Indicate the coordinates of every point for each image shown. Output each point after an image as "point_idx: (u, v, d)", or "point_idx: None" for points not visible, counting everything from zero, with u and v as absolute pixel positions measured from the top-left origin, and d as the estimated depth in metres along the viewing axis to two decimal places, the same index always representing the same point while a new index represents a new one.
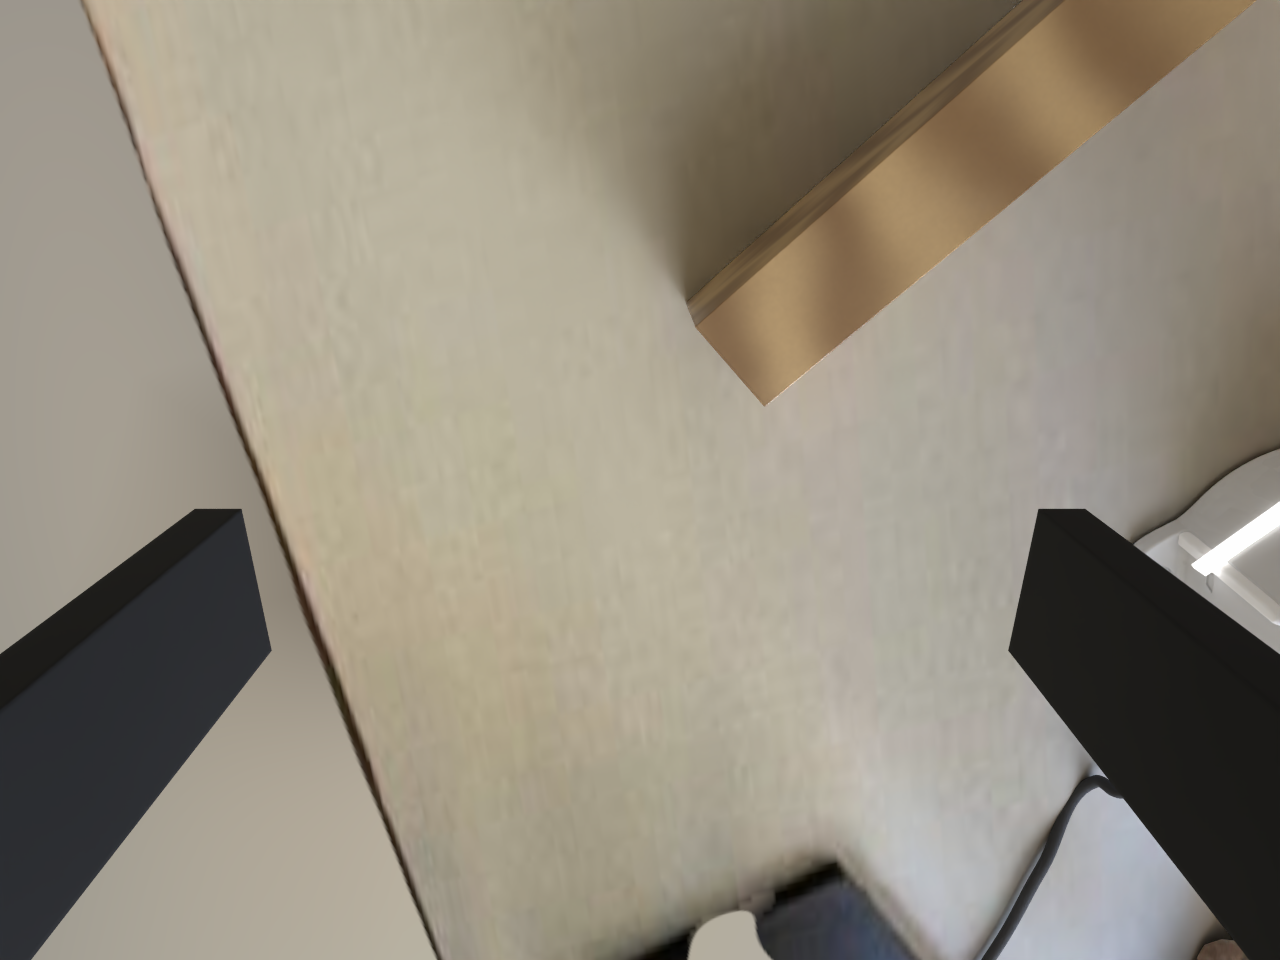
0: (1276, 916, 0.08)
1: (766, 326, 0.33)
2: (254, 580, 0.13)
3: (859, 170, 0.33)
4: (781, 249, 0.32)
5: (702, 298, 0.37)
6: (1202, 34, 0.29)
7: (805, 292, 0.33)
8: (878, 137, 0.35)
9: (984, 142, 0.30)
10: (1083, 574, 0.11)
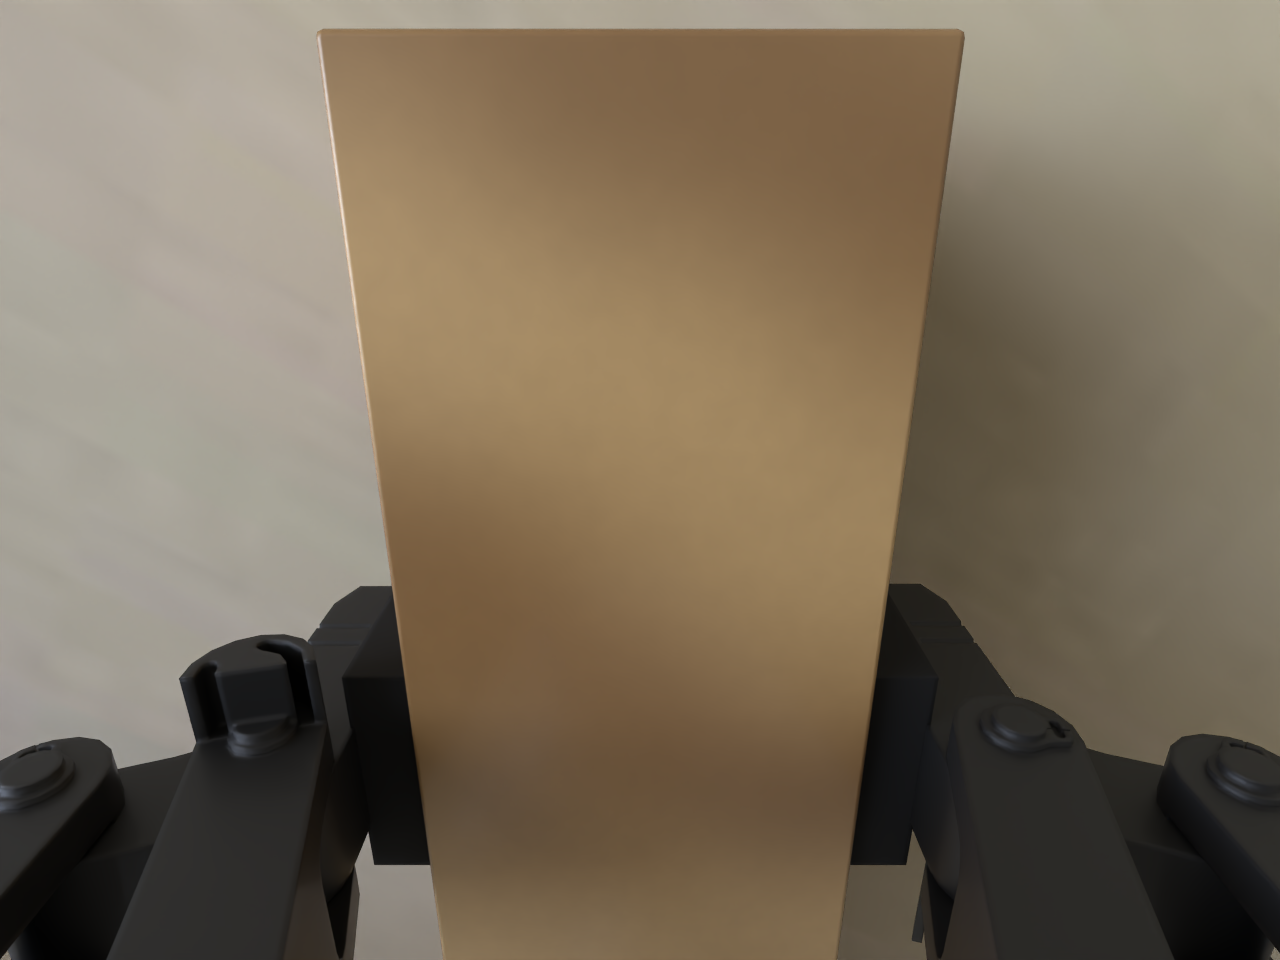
0: None
1: (684, 340, 0.07)
2: None
3: None
4: None
5: None
6: None
7: (681, 560, 0.07)
8: None
9: None
10: None
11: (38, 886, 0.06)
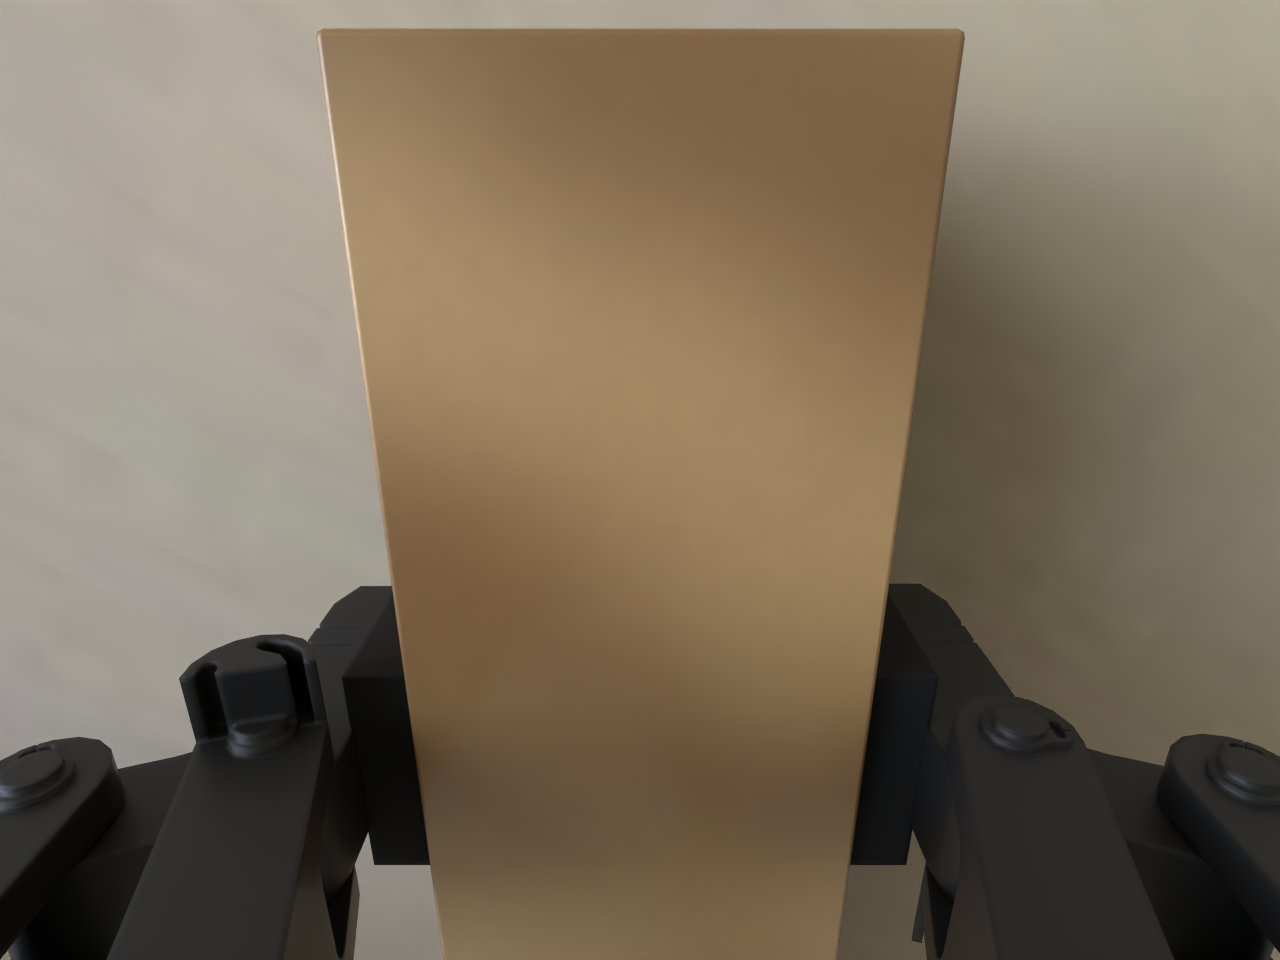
0: None
1: (684, 340, 0.07)
2: None
3: None
4: None
5: None
6: None
7: (681, 560, 0.07)
8: None
9: None
10: None
11: (38, 886, 0.06)
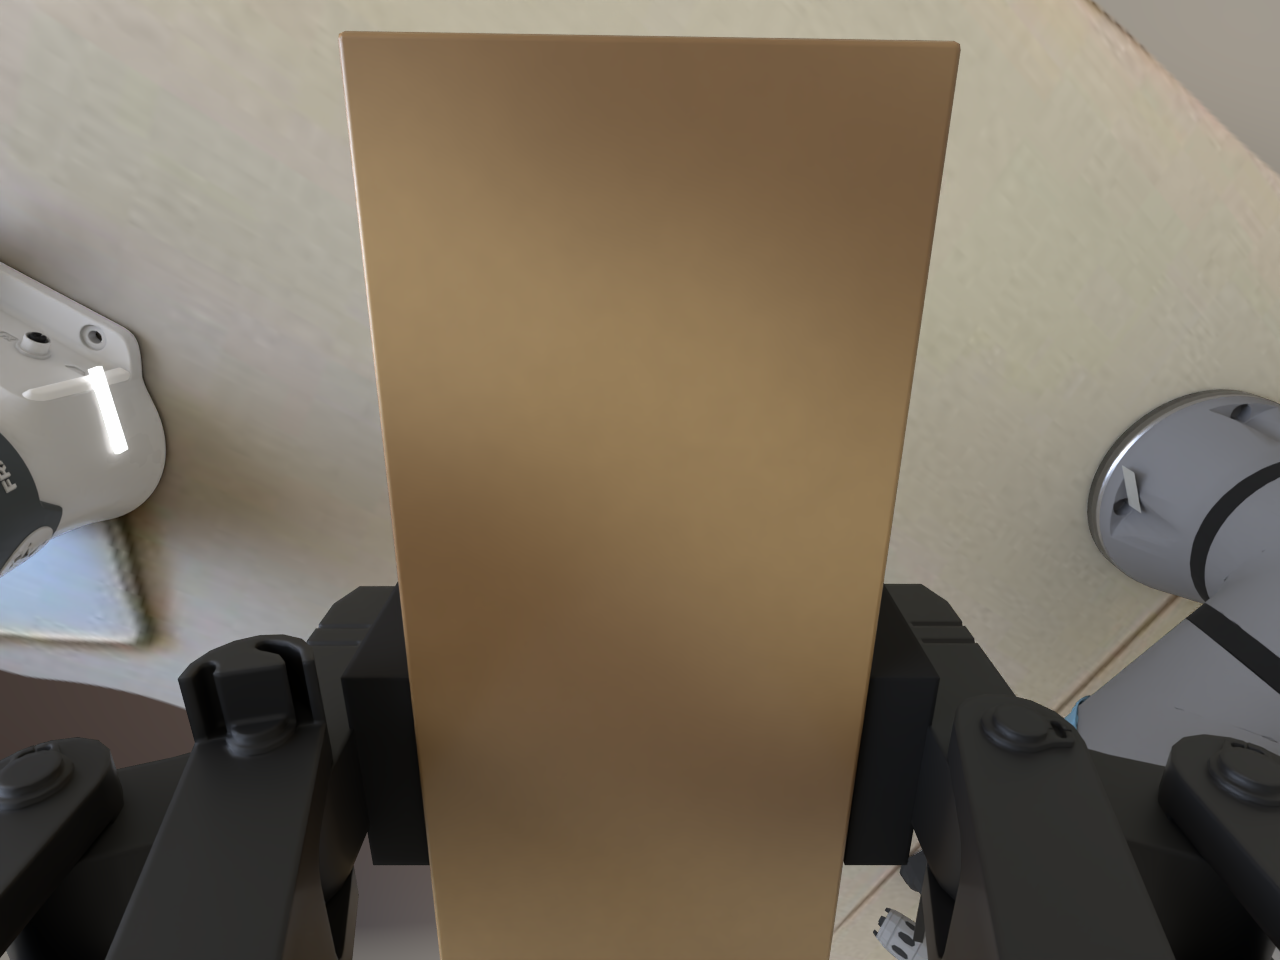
0: None
1: (687, 336, 0.07)
2: None
3: None
4: None
5: None
6: None
7: (681, 554, 0.07)
8: None
9: None
10: None
11: (37, 886, 0.06)
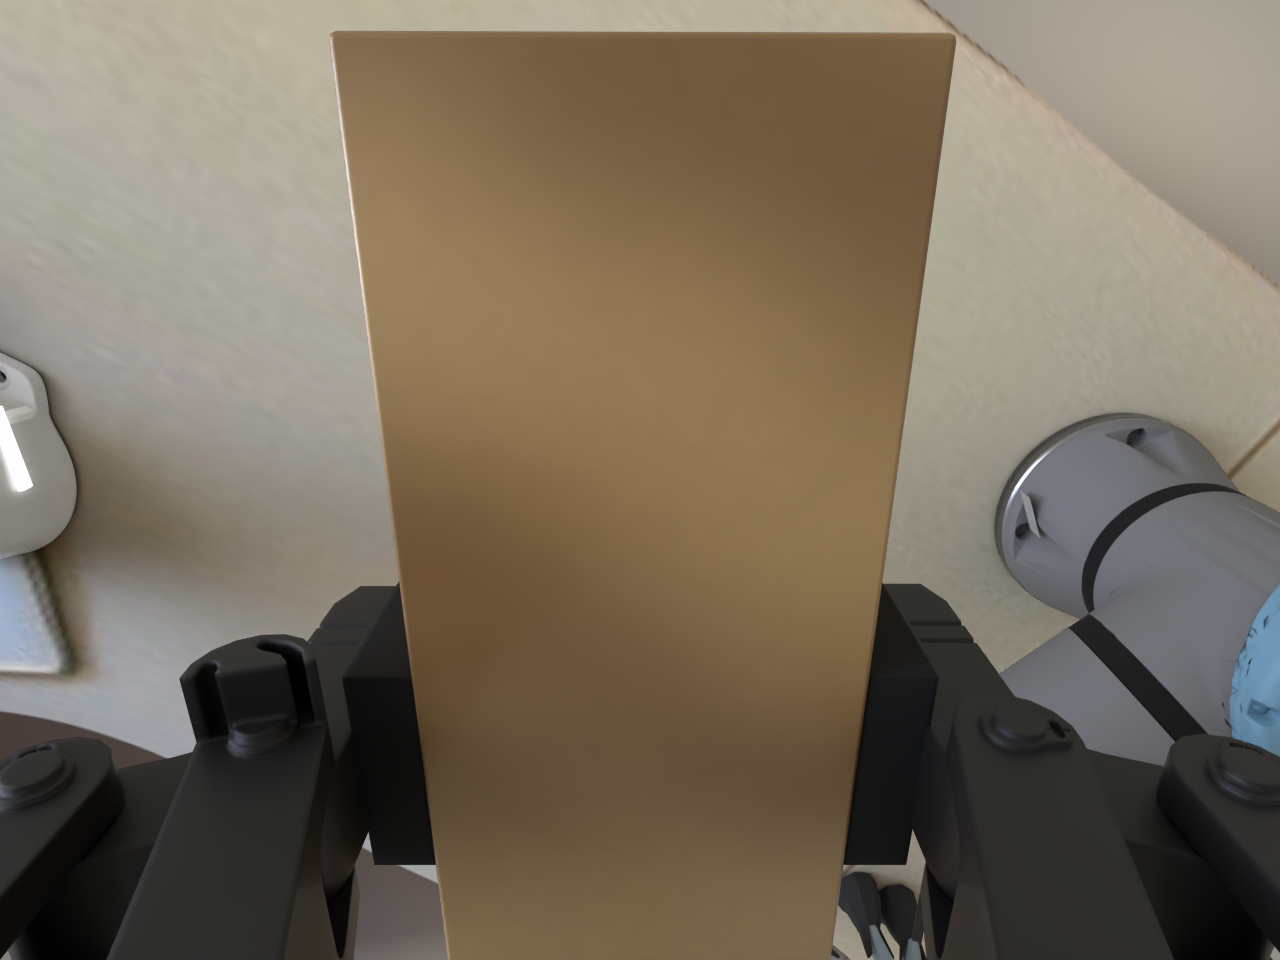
0: None
1: (682, 335, 0.07)
2: None
3: None
4: None
5: None
6: None
7: (680, 550, 0.08)
8: None
9: None
10: None
11: (38, 886, 0.06)
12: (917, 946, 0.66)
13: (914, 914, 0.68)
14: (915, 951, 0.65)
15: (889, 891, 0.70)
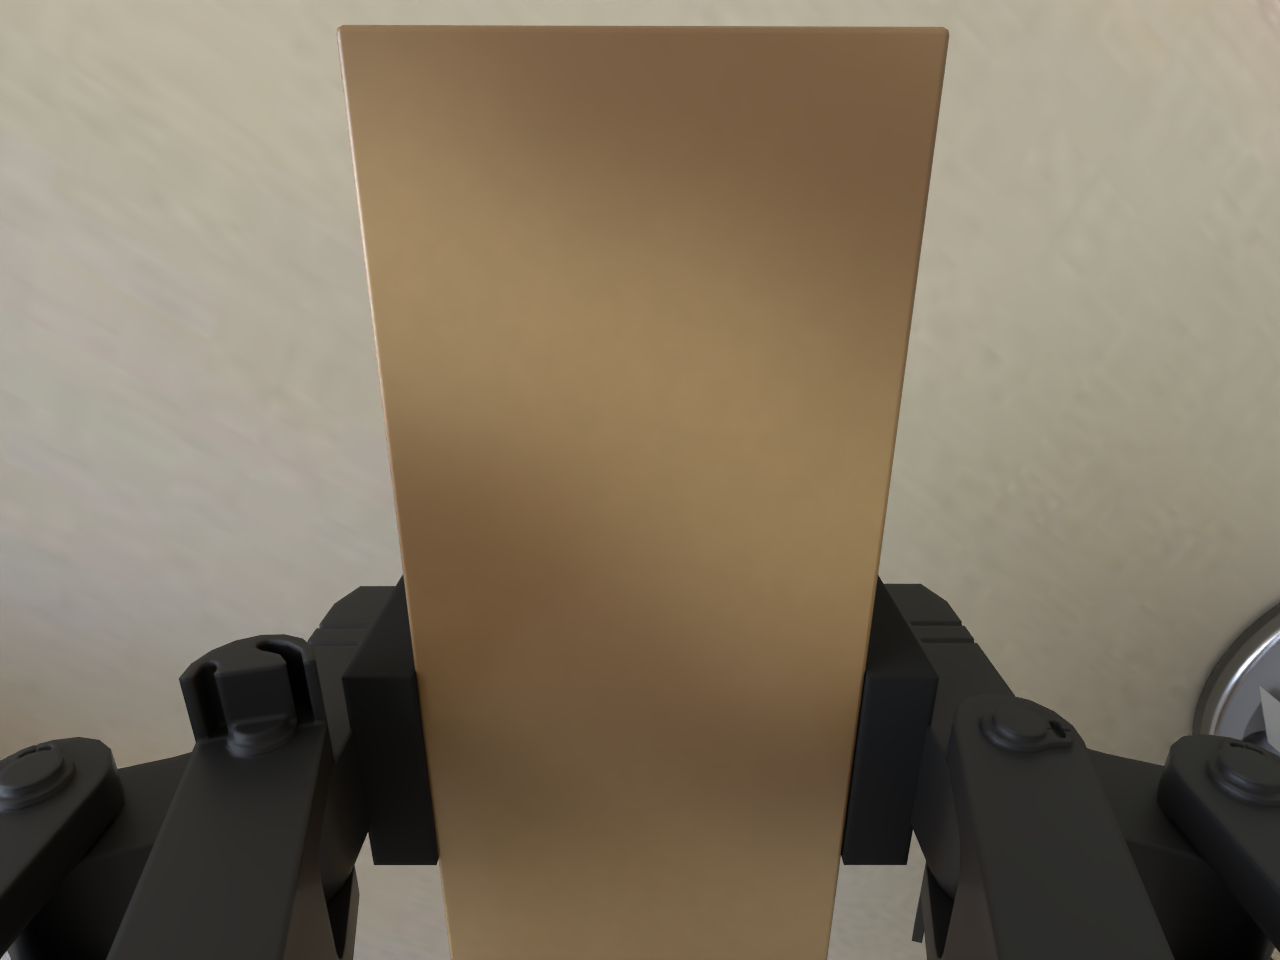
0: None
1: (683, 323, 0.07)
2: None
3: None
4: None
5: None
6: None
7: (679, 537, 0.08)
8: None
9: None
10: None
11: (38, 886, 0.06)
12: None
13: None
14: None
15: None
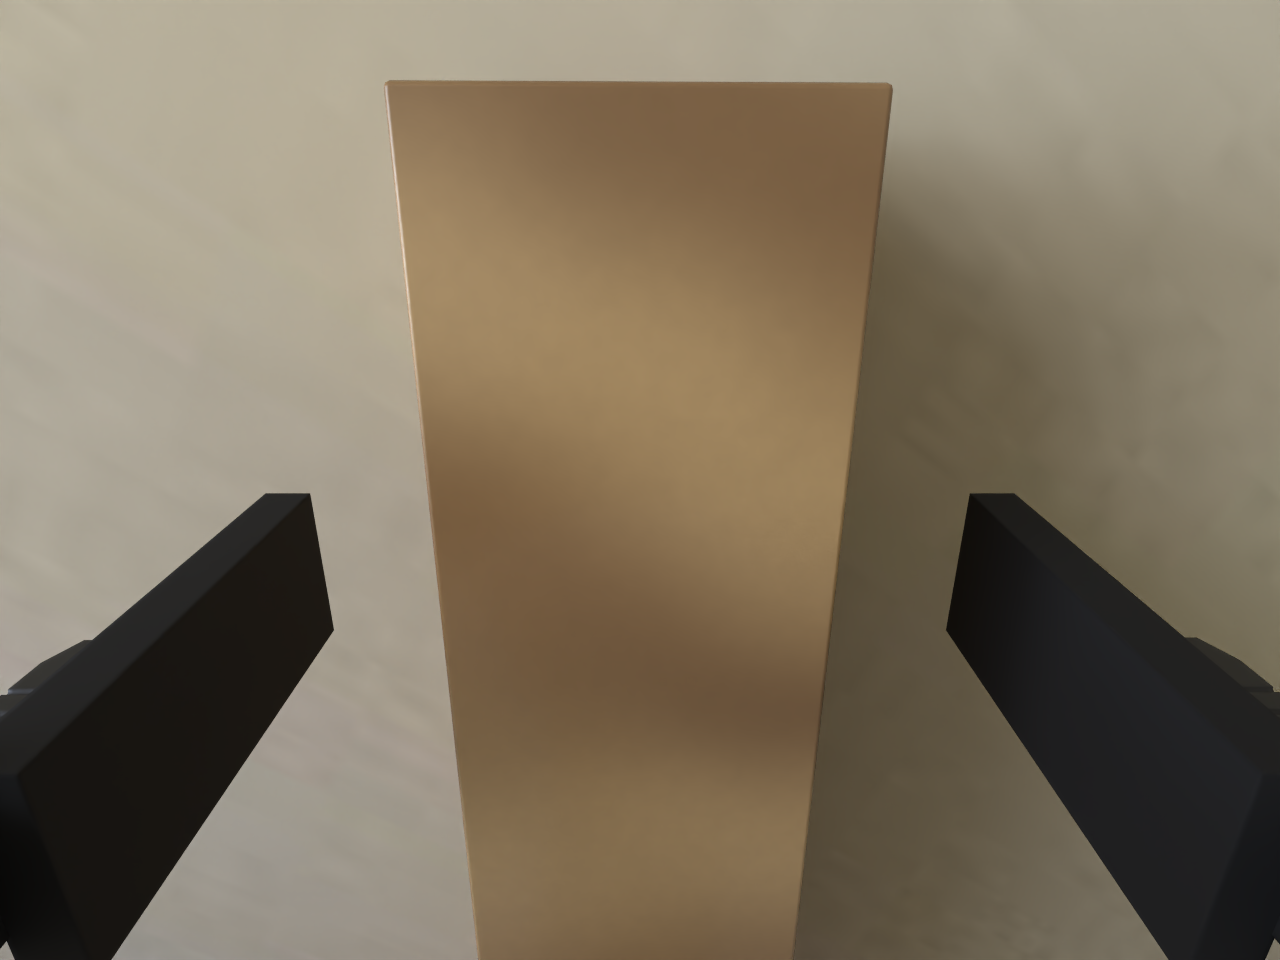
0: (1153, 862, 0.08)
1: (671, 327, 0.08)
2: (319, 563, 0.13)
3: None
4: None
5: None
6: None
7: (671, 509, 0.09)
8: None
9: None
10: (1005, 554, 0.12)
11: None
12: None
13: None
14: None
15: None
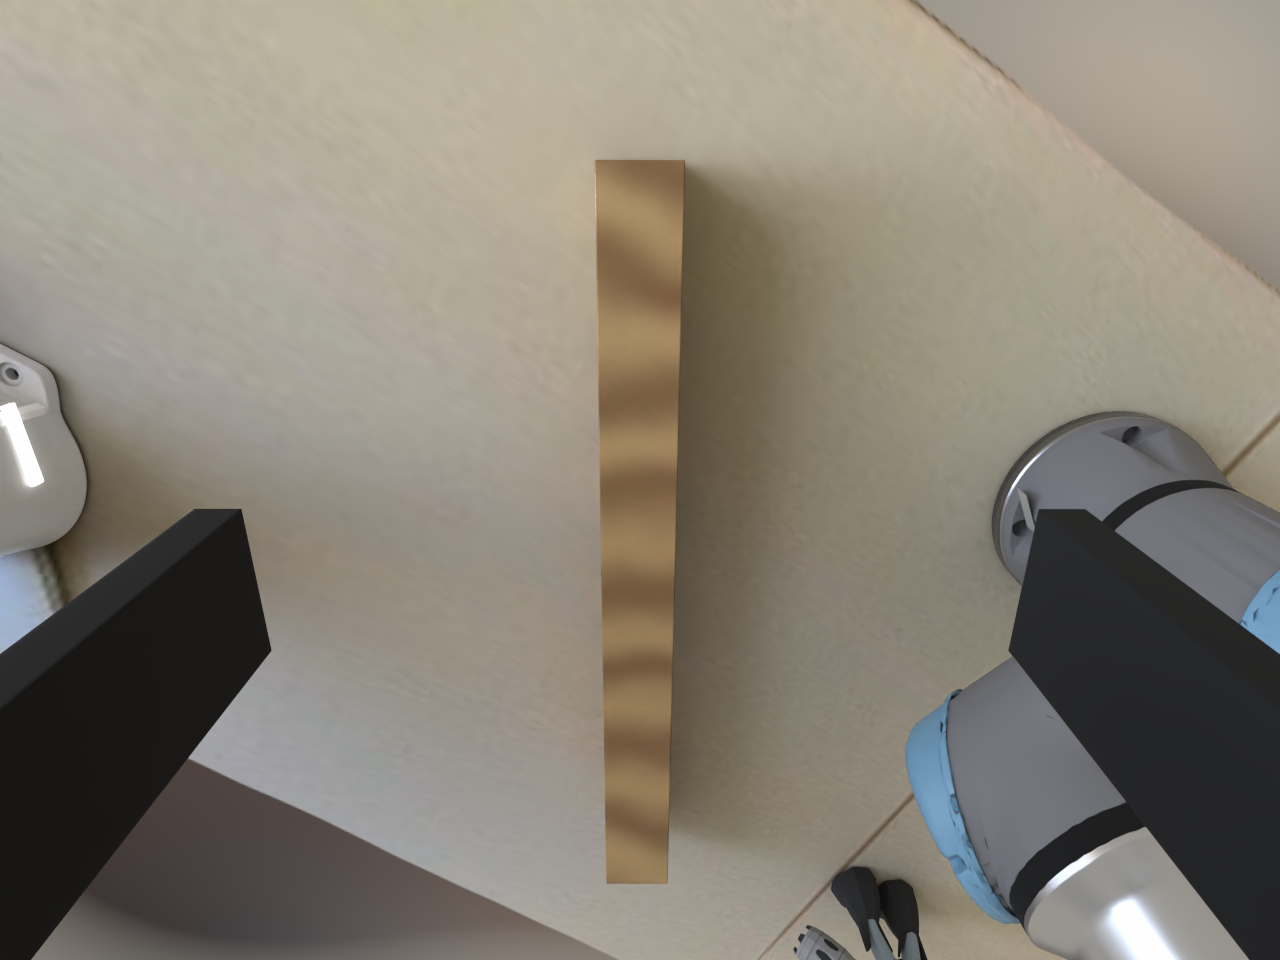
0: (1276, 916, 0.08)
1: (646, 206, 0.42)
2: (254, 581, 0.13)
3: None
4: (682, 252, 0.43)
5: None
6: (605, 523, 0.49)
7: (646, 246, 0.43)
8: None
9: (643, 399, 0.46)
10: (1084, 574, 0.11)
11: None
12: (915, 940, 0.66)
13: (913, 909, 0.68)
14: (913, 945, 0.66)
15: (888, 886, 0.70)
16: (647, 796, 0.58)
